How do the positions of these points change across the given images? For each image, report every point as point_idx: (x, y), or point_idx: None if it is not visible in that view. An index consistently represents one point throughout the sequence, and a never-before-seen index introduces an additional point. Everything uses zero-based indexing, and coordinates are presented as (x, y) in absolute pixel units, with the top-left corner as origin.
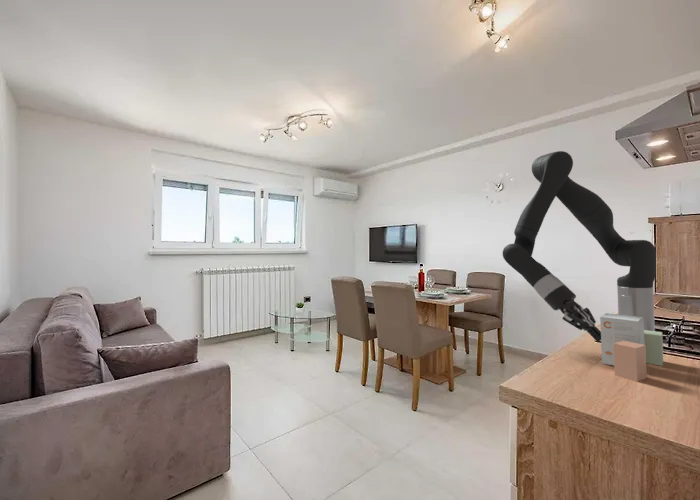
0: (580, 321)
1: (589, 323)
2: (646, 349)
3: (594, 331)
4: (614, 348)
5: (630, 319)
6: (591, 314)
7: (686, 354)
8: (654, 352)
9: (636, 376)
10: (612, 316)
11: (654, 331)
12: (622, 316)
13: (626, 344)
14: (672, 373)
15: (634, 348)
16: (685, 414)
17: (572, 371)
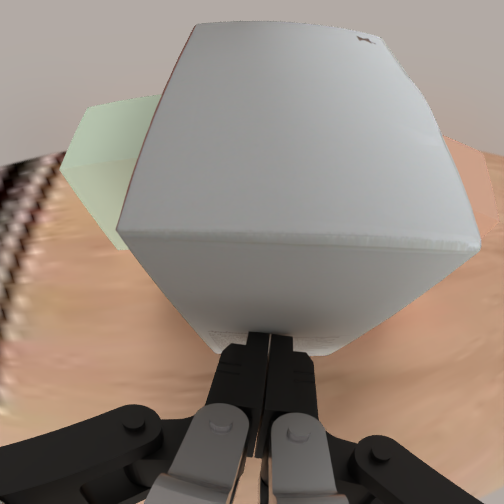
0: (449, 482)
1: (305, 444)
2: None
3: (309, 391)
4: (486, 231)
5: (373, 53)
6: (17, 449)
7: (35, 168)
8: None
9: None
10: (373, 133)
11: (81, 125)
12: (296, 73)
13: (469, 177)
14: None
15: (483, 157)
16: (492, 161)
17: (485, 394)
